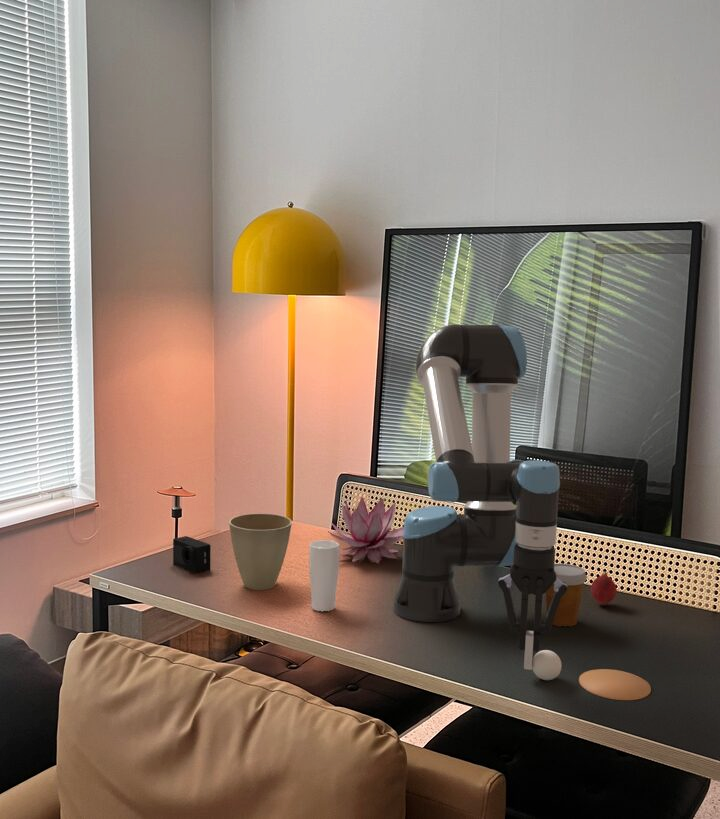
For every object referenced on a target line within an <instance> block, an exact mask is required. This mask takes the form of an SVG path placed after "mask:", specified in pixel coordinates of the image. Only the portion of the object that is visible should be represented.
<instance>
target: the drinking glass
mask: <svg viewBox="0 0 720 819" xmlns="http://www.w3.org/2000/svg"><path fill="white" fill-rule="evenodd" d="M339 548H340V543H338V541H333V540H330V539H329V540H327V539H322V540H321V539H320V540H314V541H311V542H310V543H309V550H308V551H309V552H308V554H309V555H308V557H309V558H308V562H309V563H308V565H309V577H310V578H309V579H310V582H309V583H310V596H311V598H310V599H311V602H310V603H311V608H312V609H313V611H316V612H319V611H321V612H322V613H324V612H323V611H328V612H331V611H333V610H334V609H335V608H336V594H337V585H338V577H339V569H340V568H339V567H340V556H339V555H340V549H339ZM330 610H331V611H330Z"/></svg>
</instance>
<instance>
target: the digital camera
mask: <svg viewBox="0 0 720 819" xmlns="http://www.w3.org/2000/svg"><path fill="white" fill-rule="evenodd" d="M172 539H173V541H172V550H173V551H172V555H173V556H172V558H173V559H172V563H173V564H172V565H174V566H176V567H178V568H180V569H182V570H186V571H188V572H190V573H193V574H196V575H198V574H202V573H206V572H211V550H212V549H211V544H209V543H207V542H204V541H201V540H198V539H196V538H193V537H190V536H187V535H184V536H180V537H175V538H172Z"/></svg>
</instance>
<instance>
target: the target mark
mask: <svg viewBox="0 0 720 819" xmlns="http://www.w3.org/2000/svg"><path fill="white" fill-rule="evenodd" d="M578 683H579V685H580V686H581V688H583V689H584V690H585V691H587V692H589V693H590V694H593V695H595V696H598V697H602V698H604V699H609V700H614V701H615V700H616V701H636V700H640V699H644V698H646V697H648V696H649V695H650V694H651V691H652V689H651V685H650V684H649V682H648V681H647V680H645V679H643V678H642V677H640V676H638V675H636V674H633V673H631V672H627V671H623V670H619V669H611V668H610V669H609V668H599V669H591V670H587V671H584V672H582V673H581V674H580V675H579V677H578Z"/></svg>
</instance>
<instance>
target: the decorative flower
mask: <svg viewBox="0 0 720 819" xmlns="http://www.w3.org/2000/svg"><path fill="white" fill-rule="evenodd" d="M396 504H397V503H396V502H393V504H392V505H391V506H390V507H389V508H388V509H387V511H386V506H385V501H384V498H380V499H379V500H378V502H376V504H375V505H374V506H373V508H372V509H371V510H370V512H369V510H368V508H367V504H366V502H365V499H364V497H363V496H362V497H360V499H359V502H358V504H357V507H356V508H354V509H353V511H352V513H351V510H350V508H349V505H348V501H347V500H345V506H344V504H341V508H342V509H341V510H342V511H341V512H342V518H343V521H344V524H345V526H346V529H347V530H348V532H349V533H350V534H348V533H347V532H345V531H343V530H342V529H340V528H339V527H337V526H336V525H335V524H334V523H333V522H330V523H331V525H332V527H333V528H334V530H336V532H337V533H338V534H340V535H342V536H343V537H341V536H339V535H336V534H334V533H332V532H330V531H328V530H327V533H328V534H329V535H330V536H331V537H333V538H335V539H336V540H338V541H340V542H344V543H347V544H348V545H349V546H350V547H346V548H344V547H343V548H342V547H339V550H343V551H346V552H343V553H339V557H343V556H347V555H349V554H352V553H354V554H353V557H352V558H353V559H352V561H351V562H357V561H360V562H359V563H361V562H362V561H363V560H364V559H366V557H367V559H368V560H369V561H370V563H372V564H373V563H377V564H379V563H380V561H383V559H382V558H383V557H385V558H387V559H397V560H398V557H397V556H396V555H395V554H394V553H398V549H397V550H396V549H392V548H390V547H388V546H391V545H395V544H396V543H398V542H400V541H402V540H403V534H402V533H403V529H404V526H402V527H399V528H395V529H393V530H391V529H392V526H393V523H394V518H395V514H396V506H397V505H396ZM347 550H348V551H347Z"/></svg>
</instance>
